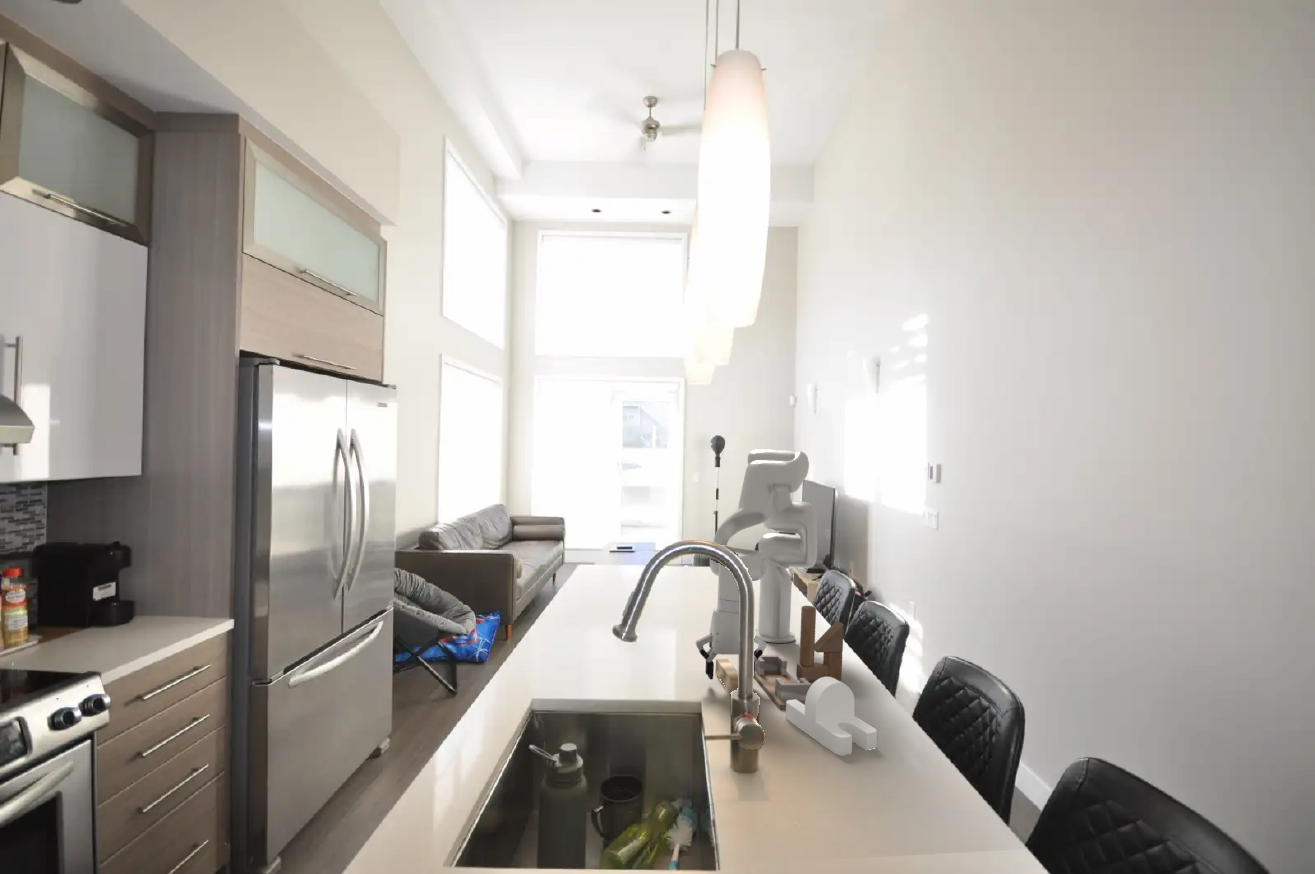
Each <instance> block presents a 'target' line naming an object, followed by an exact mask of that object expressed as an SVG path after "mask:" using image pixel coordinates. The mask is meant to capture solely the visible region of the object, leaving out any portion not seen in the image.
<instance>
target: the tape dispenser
mask: <svg viewBox="0 0 1315 874" xmlns="http://www.w3.org/2000/svg"><path fill="white" fill-rule="evenodd" d="M855 704H856V703H855V695H854V693H853V691H852V690H851V688H850V687H849V686H848V685H847V684H845V683H843V682H842V681H841V680H840V681H838V680H836V679H834V678H832V677H822V678H819V679H818V680H816V681H813V683H811V687H810V688H809V690H808V692H807V695H806V699H805V705H804V704H802V703H801V702H799V701H798V700H796V699H794V700H788V701H786V709H785V719H786V720H787V721H789V722H790V723H792V724H793V726H796V727H797V728H798V729H800V730H801V731H803V732H804V733H805V734H806V735H809V736H810V737H811V738H812V739H814V740H815V741H817V742H818V743H820V744H821V745H822V746H823V747H825V748H826V749H828V750H829V751H831V752H832V753H834V754H835V753H836V754H835V755H837V754H838V756H842V755H843V756H848V755H847V754H849V755H851V754H850V753H852V752H853V743H854V744H855V743H856V744H855V745H857V744H858V745H859V746H858V745H857V746H858V747H860V746H861V747H862V748H861V747H860V748H861V749H863V748H864V749H866V750H869V749H873V748H876V749H877V737H878V731H877V729H876V728H875V727H873V726H872V725H870V724H868V723H866V722H865V721H863V720H861V719H860V718H859V717H857V716H855V708H856V707H855V706H856V705H855ZM864 749H863V750H864ZM866 750H865V751H866ZM852 754H853V753H852Z"/></svg>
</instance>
